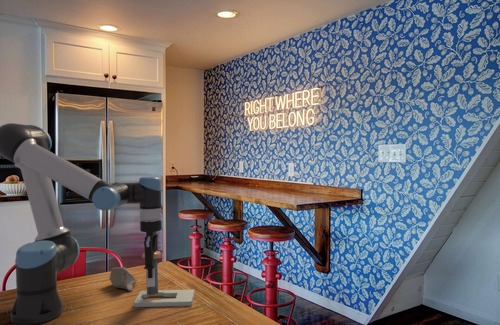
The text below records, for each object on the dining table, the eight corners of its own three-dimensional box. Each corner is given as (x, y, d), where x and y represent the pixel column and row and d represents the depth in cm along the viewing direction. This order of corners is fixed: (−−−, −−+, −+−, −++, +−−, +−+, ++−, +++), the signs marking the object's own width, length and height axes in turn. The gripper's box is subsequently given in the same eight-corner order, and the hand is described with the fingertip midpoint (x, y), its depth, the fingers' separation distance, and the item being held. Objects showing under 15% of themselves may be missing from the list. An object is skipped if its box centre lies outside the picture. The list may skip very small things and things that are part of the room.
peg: (141, 296, 139) (140, 255, 139) (145, 290, 145) (144, 251, 145) (159, 295, 139) (159, 255, 139) (162, 289, 146) (162, 250, 145)
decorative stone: (123, 293, 149) (123, 272, 149) (107, 284, 160) (107, 264, 160) (143, 288, 155) (143, 267, 155) (126, 280, 165) (126, 260, 165)
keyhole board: (133, 307, 136) (133, 302, 136) (141, 294, 148) (141, 290, 148) (191, 305, 137) (191, 301, 137) (194, 293, 149) (194, 289, 149)
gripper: (157, 223, 133) (158, 292, 134) (165, 215, 150) (166, 276, 151) (134, 224, 133) (136, 292, 133) (145, 216, 150) (146, 277, 150)
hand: (152, 284), depth 142 cm, fingers closed on peg, 4 cm apart
